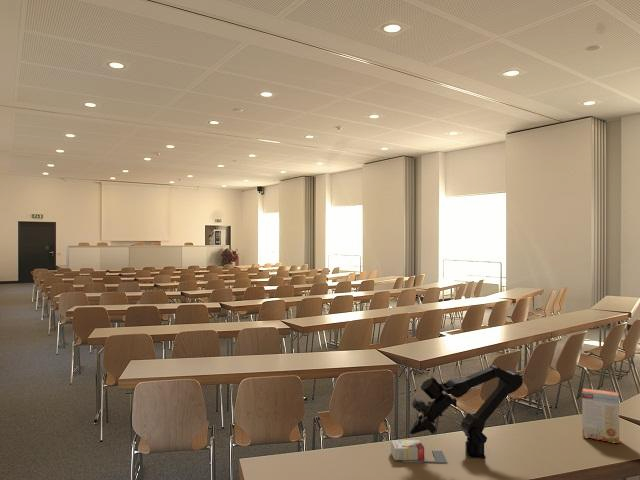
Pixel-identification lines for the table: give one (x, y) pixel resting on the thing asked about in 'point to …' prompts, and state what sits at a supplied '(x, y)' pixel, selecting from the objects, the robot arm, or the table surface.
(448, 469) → the table surface
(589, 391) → the cracker box
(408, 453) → the ink box
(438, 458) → the flat gray angled bracket
